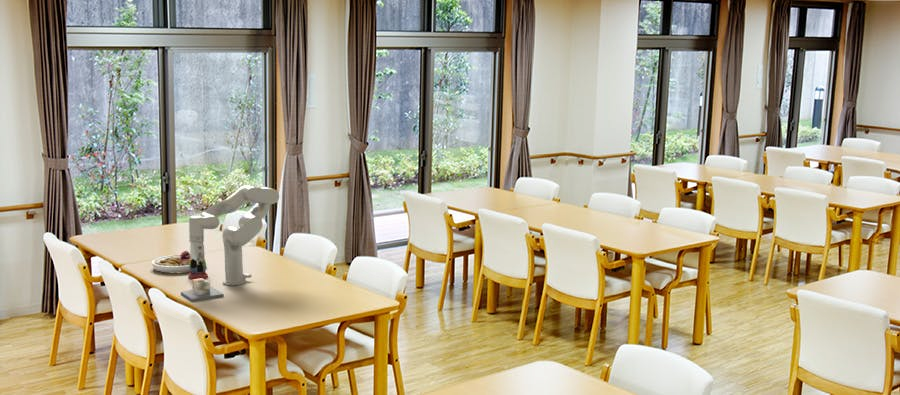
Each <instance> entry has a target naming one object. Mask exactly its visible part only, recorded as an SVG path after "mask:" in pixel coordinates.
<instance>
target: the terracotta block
mask: <svg viewBox="0 0 900 395" xmlns="http://www.w3.org/2000/svg"><path fill="white" fill-rule="evenodd" d="M198 280H205V278H196V279H191V281H192V282H191V283H192V284H191V286H192V290H194V283H193V281H198Z"/></svg>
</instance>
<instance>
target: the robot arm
mask: <svg viewBox="0 0 900 395" xmlns="http://www.w3.org/2000/svg"><path fill="white" fill-rule="evenodd" d="M279 199H280V194H279V191H277V189H274V188H270V187H267V186H261V187H257V186H256V187H255V186H252V185H249V184H245V185H242V186H241V187H240V188H238V189H237V190H236V191H234V192H232V193H231V194H230V195H229V196H228V197H226V198H225V199H223V200H221V201H219V202H216V203H215V204H213V205H211V206H209V207H208V208H207V209H205V210H204V211H203V212H202V213H201V214H200V215H191V216H190V217H189V218H188V224H189V225H188V233H189V236H188V237H189V240H188V241H189V244H190V245H189V254H190V257H191V259H190V260H191V268H197V272H203V262H204V261H203V260H204V259H205V260H206V256H205V245H204V242H205V234H204V233H205V231H204V230H216V229H217V228H218V227H219V226H220V224H221V223H220V219H219V217H221V216H224V215H226V214H232V213H235V212H237V211H238V210H239V209H240V208H242V207H244V205H245V204H247V203H249V202H250V203H255V204H254V205H253V206H252V207H251V208H250V209H249V210H248V211H247V212H245V213H244V214H243V215H242V216H241V217H240V218H239V219H238V227H237V226H234V225H230V226H227V227H226V228H225V229H223V232H222V235H221V236H222V242H223V249H224V273H225V279H223V280H222V284H223V285H226V286H239V285H243V284H246V282H247V279H248V278H252V275H253V274H251V273H244V270H243V268H244V266H243V248H242V247H243V246H245V245H246V244H248V243H249V242H250V241H251V240H253V239H254V238H255V237H256V236H257V235H259V233H260V232H261V230H262V228H263V219H264V218H266V216H267V214H268V213H269V210H270V207H271V205H274V204H277V203H278V201H279ZM197 263H198V265H197Z"/></svg>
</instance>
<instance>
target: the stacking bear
mask: <svg viewBox="0 0 900 395" xmlns="http://www.w3.org/2000/svg"><path fill="white" fill-rule="evenodd" d="M190 259H191V258H190ZM203 261H204V262H203V272H197V268H191V260H190V263H189V269H190V272H189V274H188V276H187V277H188V279H189V278H196V279H199V278H203V279H207V278H206V277H208V278H209V276H208V275H209V274H208V273H207V272H206V271H207V263H206V262H207V261H206V258H205V259H204V260H203ZM197 265H198V263H197Z"/></svg>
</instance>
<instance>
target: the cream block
mask: <svg viewBox="0 0 900 395" xmlns="http://www.w3.org/2000/svg"><path fill="white" fill-rule="evenodd" d="M193 283H194V289H193V290H194V293H196V294H197V295H202V294H208V293H210V287H211V283H210V281H209V280H207V279H204V280H198V281H193Z"/></svg>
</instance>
